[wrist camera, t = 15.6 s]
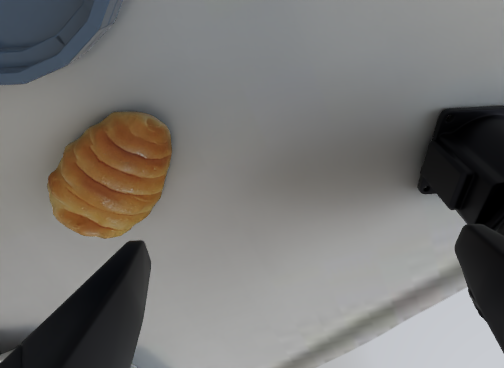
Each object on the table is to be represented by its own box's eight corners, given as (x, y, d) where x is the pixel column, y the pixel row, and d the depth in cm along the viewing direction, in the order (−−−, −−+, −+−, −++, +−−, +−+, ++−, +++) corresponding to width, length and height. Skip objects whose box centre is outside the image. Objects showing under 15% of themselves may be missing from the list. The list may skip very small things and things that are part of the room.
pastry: (105, 78, 19) (79, 102, 16) (201, 139, 22) (194, 170, 19) (51, 181, 23) (22, 216, 20) (137, 223, 26) (123, 259, 23)
